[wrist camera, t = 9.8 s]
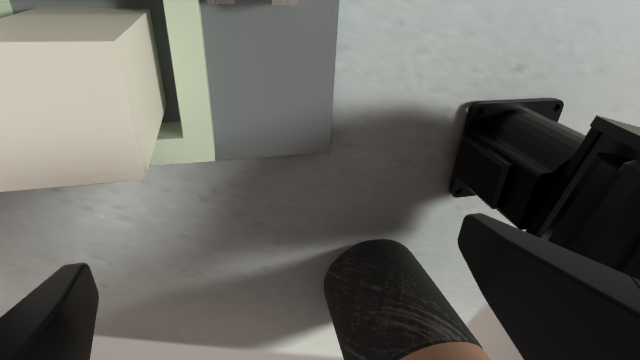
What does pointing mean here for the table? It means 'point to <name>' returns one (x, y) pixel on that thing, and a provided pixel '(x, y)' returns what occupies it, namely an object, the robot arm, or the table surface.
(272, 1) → the set of small cubes
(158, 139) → the end holder
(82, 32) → the beige rectangular block
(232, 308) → the table surface
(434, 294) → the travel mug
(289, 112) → the mat
